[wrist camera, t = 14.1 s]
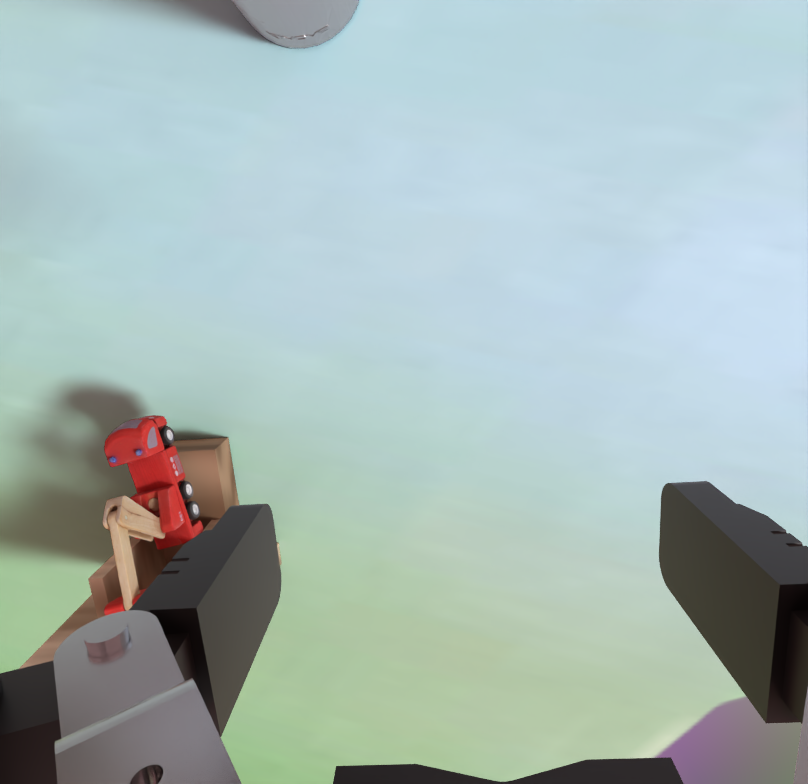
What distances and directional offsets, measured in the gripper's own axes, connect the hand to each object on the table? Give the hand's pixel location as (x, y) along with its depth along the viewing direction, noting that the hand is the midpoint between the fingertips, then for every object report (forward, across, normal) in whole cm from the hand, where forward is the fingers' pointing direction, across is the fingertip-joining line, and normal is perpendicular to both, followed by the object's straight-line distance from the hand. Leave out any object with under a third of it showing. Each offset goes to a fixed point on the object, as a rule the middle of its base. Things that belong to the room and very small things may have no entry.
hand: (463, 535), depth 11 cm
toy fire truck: (+29, +21, +11) cm, 38 cm away
